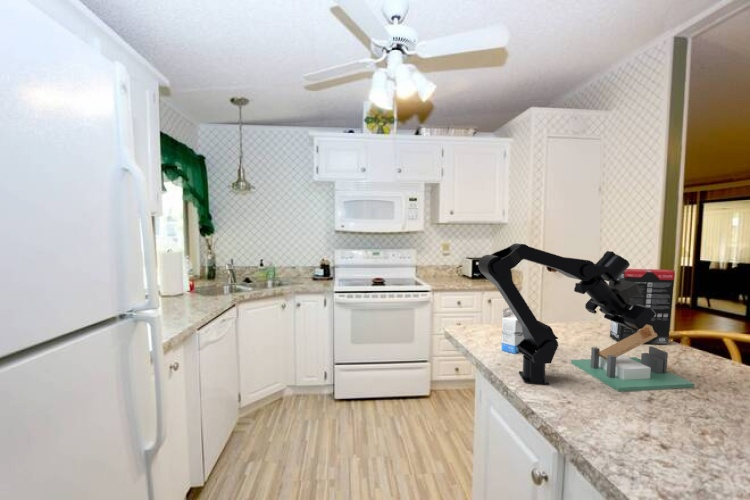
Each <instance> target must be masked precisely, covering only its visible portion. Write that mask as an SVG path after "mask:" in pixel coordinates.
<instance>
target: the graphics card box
mask: <svg viewBox="0 0 750 500" xmlns="http://www.w3.org/2000/svg"><path fill="white" fill-rule="evenodd" d="M675 275H676V273H675V271H674V270H671V269H656V268H655V269H651V268H648V269H647V268H627V269H626V270H625V271H624V272H623V273H622V274H621V275H620V276H619V277H618V278H617V280H618V281H631V282H636V283H637V285H638V288H639V290H640V294H639V295H636V296H634V297H632V298H630V299H629V300H630V303H629V305H632V306H634V305H643V306H647V307H651V308H652V309H653V310H654V312H655V314H656V315H655V316H654V317H653V318H652V319H651V320H650V321H649V322H648V323H647V325H650V326H652V327H653V330H654V332H655V333H657V337H655V338H653V339H651V340H649V341H647V342H645V343H643V344H644V345H645V344H646V345H647V344H648V345H649V344H650V345H666V346H667V345H669V340H670V331H671V329H670V328H671V316H672V308H673V307H672V305H673V295H674V287H675V286H674V284H675ZM638 331H639V329H636V330H635V331H634V330H632V329H629V328H627V327H625V326H622V325H620V324H618V323H615V322H613V321H611V320H610V331H609V333H610V334H609V337H610V338H611V339H613V340H615V341H617V342H619V341H621V340H623V339H625V338H627V337H629V336H631V335H633V334H634V333H636V332H638ZM643 344H642V345H643Z"/></svg>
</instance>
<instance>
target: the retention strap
mask: <svg viewBox="0 0 750 500" xmlns="http://www.w3.org/2000/svg"><path fill="white" fill-rule="evenodd" d="M655 337H657V333H655V332H654V330H653V327H652V326H650V325H647V324H646V325H645V326H644V327H643V328H642V329H639V331H638V332H636V333H634V334H633V335H631V336H629V337H627V338H625V339H623V340H621V341H619V342H618V341H617V342H616V343H614V344H612V345H610V346H607V347H605V348H603V349H602V350H600V351H599V352H598V356H600V357H602V358H604V359H606V360H607V355H614V356H616V358H617V357H619V356H620V355H624V354H626V353H628V352H630V351H632V350H633V349H635V348H637V347H639V346H641V345H643V343H645V342H647V341H649V340H651V339H653V338H655Z"/></svg>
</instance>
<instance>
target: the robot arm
mask: <svg viewBox="0 0 750 500" xmlns="http://www.w3.org/2000/svg"><path fill="white" fill-rule="evenodd" d="M523 260H524V261H528V262H531V263H535V264H538V265H540V266H544V267H548V268H551V269H553V270H555V271H557V272H558V273H559V274H561V275H564V276H565V277H567V278H571V279H574V280H579V282H575V285H574V288H573V289H574V290H573V291H574V292H576V293H578V294H581V295H585V294H587V295H588V296H589V297H590V299H589V300H588V301H586V303H585V305H584V307H585V309H586V310H587V311H588V312H589V313H591V314H593V315H596V314H597V310H596V309H597V308H598V307H599V309H598V310H599V311H600V312H601V313H602V314H604V315H603V318H604V319H607V320H609V321H610V322H611V321H613V322H615V323H618V324H620V325H622V326H625V327H627V328H629V329H632V330H634V331H635V330H636V329H642V328H643V327H644V326H645V325H646V324H647V323H648V322H649V321H650V320H651V319H652V318H653V317H654V316H655V315H656V314H655V312H654V310H653V309H652V308H651V307H647V306H643V305H634V306H632V305H629V303H630V300H629V299H630V298H632V297H634V296H636V295H639V294H640V290H639V288H638V285H637V283H636V282H631V281H618V280H617V278H618V277H619V276H620V275H621V274H622V273H623V272H624V271H625V270H626V269H629V267H630V266H631V265H630V262H629V261H628V260H627V259H626V258H624V257H622V256H621V255H619V254H617V253H615V252H614V251H610V250H607V251H606V252H604V253H603V255H602V257H601V258H599V259H598V261H597V262H596V263H594V262H593V261H592V260H589V259H581V258H574V257H566V256H560V255H557V254H554V253H551V252H548V251H545V250H541V249H539V248H535V247H531V246H530V245H527V244H526V243H525V244H524V243H517V242H516V243H513V244H511V245H509V246H508V247H506V248H503V249H500V250H497V251H495V252H493V253H492V254H485V255H482V257H480V258H479V260H478V264H477V266H478V270H479V271H480V273H481V274H482V275H483V276H484V277H485V278H486V279H487V280H488V281H489V282H490V283H491V284H492V285H494V286H495V288H496V289H497V290H498V292H499V293H500V294H501V296H502V297H503V299H504V301H505V302H506V304H507V307H510V309H511V310H512V312H513V314H514V315H515V317H516V318H517V320H518V321H519V323H520V324H521V326H522V332H523V336H524V339H523V340H522V341H521V342H520V343H519V344H518V345H517V348H518V351H519V352H518V353H519V354H521V355H522V371H521V370H519V371H518V374H519V376H520V377H521V379H522V381H523V382H524V383H526V384H537V385H538V384H539V385H550V381H549V380H548V378H547V377H546V364H552V361H553V359H554V357H555V354H556V352H557V350H558V347H559V342H558V339H559V337H558V336H556V335H555V333H554V330H553V328H552V326H550V325H548V324H546V323H544V322H541V321H539V320H538V319H537V318H536V316H535V314H534V313H533V311H532V310H531V308H530V307H529V305H528V303H527V302H526V300H525V299H524V297H523V296H522V294H521V292H520V291H519V289H518V287H517V286H516V284H515V283H514V281H513V272H512V269H513V268H516V267H517V266H518V264H519V263H521V262H522V261H523Z"/></svg>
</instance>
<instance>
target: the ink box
mask: <svg viewBox="0 0 750 500" xmlns="http://www.w3.org/2000/svg"><path fill="white" fill-rule="evenodd" d="M508 310H509V311H508ZM501 323H502V324H501V351H503V352H507V353H511V354H514V355H516V354H517V353H519V351H518V348H517V345H518V344H519V343H520V342H521V341H522V340H523V339H524V336H523V332H522V326H521V324H520V323H519V321H518V320H517V318H516V317H515V315H514V313H513V312H512V310H511V309H510V307H509V306H507V307H504V308H503V311H502V321H501Z"/></svg>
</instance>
